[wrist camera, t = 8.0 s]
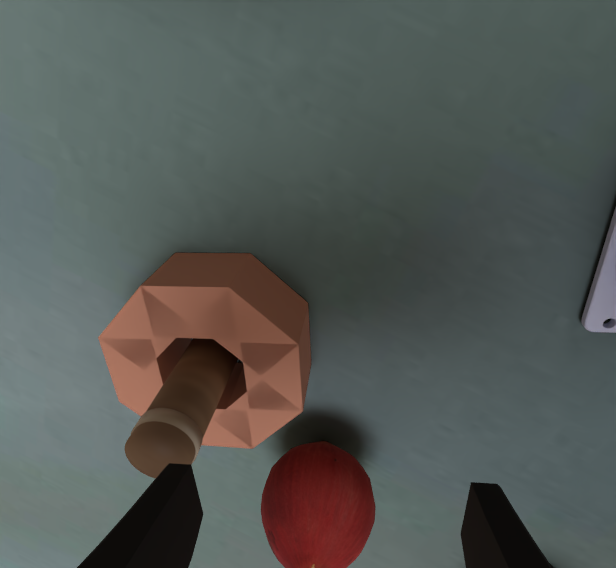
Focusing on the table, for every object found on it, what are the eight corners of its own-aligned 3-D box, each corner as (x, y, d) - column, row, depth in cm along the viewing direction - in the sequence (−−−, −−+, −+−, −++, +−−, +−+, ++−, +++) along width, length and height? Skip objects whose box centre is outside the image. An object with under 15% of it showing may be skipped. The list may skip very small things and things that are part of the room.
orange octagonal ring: (306, 253, 19) (294, 288, 16) (313, 401, 23) (305, 452, 20) (124, 252, 20) (80, 284, 17) (161, 393, 24) (132, 440, 21)
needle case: (245, 311, 21) (184, 433, 14) (250, 351, 22) (197, 483, 15) (198, 310, 21) (115, 429, 14) (205, 350, 22) (132, 478, 15)
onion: (336, 491, 26) (326, 644, 19) (259, 450, 25) (219, 595, 18) (392, 441, 24) (404, 597, 17) (308, 393, 23) (284, 537, 16)
